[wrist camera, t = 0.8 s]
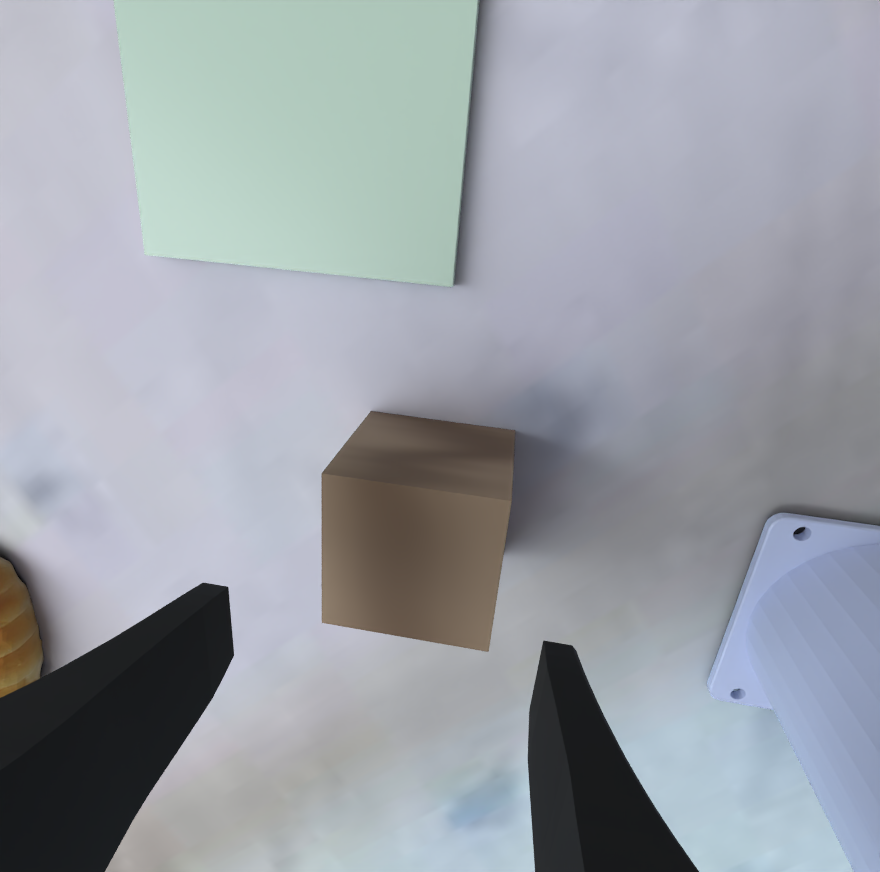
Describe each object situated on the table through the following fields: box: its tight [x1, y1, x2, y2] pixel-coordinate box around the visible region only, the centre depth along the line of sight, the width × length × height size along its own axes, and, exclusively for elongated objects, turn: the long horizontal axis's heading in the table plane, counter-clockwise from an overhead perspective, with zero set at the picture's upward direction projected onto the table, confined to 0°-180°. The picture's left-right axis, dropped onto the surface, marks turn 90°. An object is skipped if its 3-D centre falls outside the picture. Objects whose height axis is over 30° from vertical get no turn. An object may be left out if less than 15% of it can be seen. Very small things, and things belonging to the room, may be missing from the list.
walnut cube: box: [322, 411, 515, 652], centre depth 17 cm, size 5×5×5 cm
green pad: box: [114, 0, 480, 287], centre depth 15 cm, size 10×10×1 cm
